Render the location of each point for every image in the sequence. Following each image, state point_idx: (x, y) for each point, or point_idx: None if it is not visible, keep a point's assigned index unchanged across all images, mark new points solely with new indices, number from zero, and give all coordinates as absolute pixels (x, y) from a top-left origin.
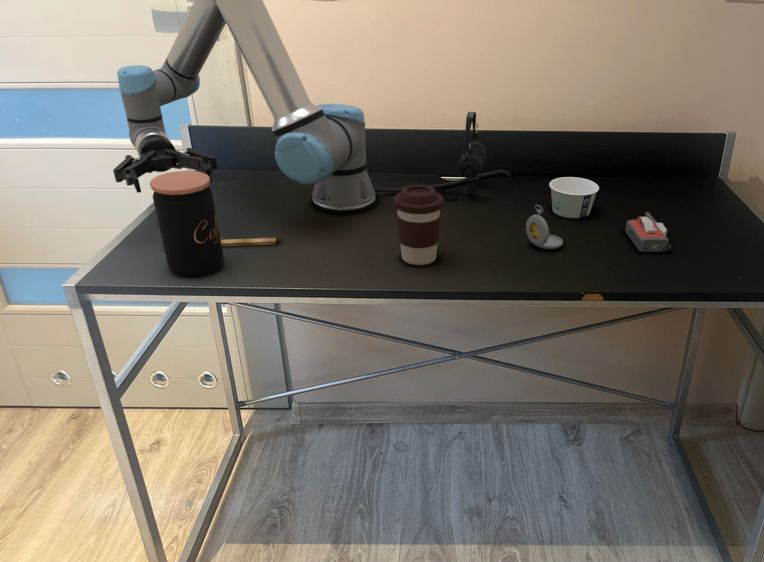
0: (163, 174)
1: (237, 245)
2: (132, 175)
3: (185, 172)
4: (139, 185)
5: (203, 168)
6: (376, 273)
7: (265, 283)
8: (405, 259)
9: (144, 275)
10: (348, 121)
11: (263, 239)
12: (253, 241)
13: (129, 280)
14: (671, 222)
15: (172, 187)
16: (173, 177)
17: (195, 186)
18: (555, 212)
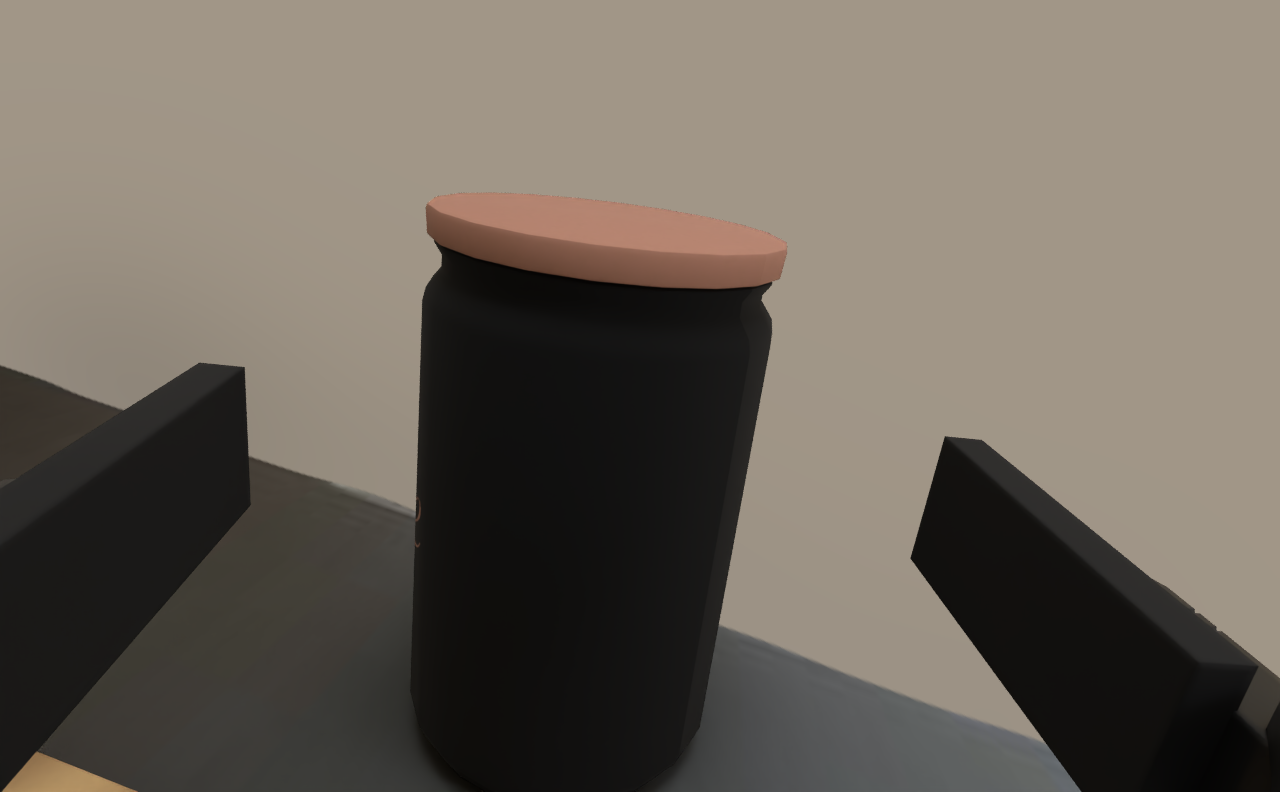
0: (705, 250)
1: None
2: (1054, 499)
3: (547, 229)
4: (930, 497)
5: (171, 456)
6: (6, 442)
7: (369, 518)
8: None
9: (817, 729)
10: None
11: (25, 789)
12: (109, 789)
13: (880, 715)
14: None
15: (665, 213)
16: (643, 229)
17: (554, 196)
18: None
